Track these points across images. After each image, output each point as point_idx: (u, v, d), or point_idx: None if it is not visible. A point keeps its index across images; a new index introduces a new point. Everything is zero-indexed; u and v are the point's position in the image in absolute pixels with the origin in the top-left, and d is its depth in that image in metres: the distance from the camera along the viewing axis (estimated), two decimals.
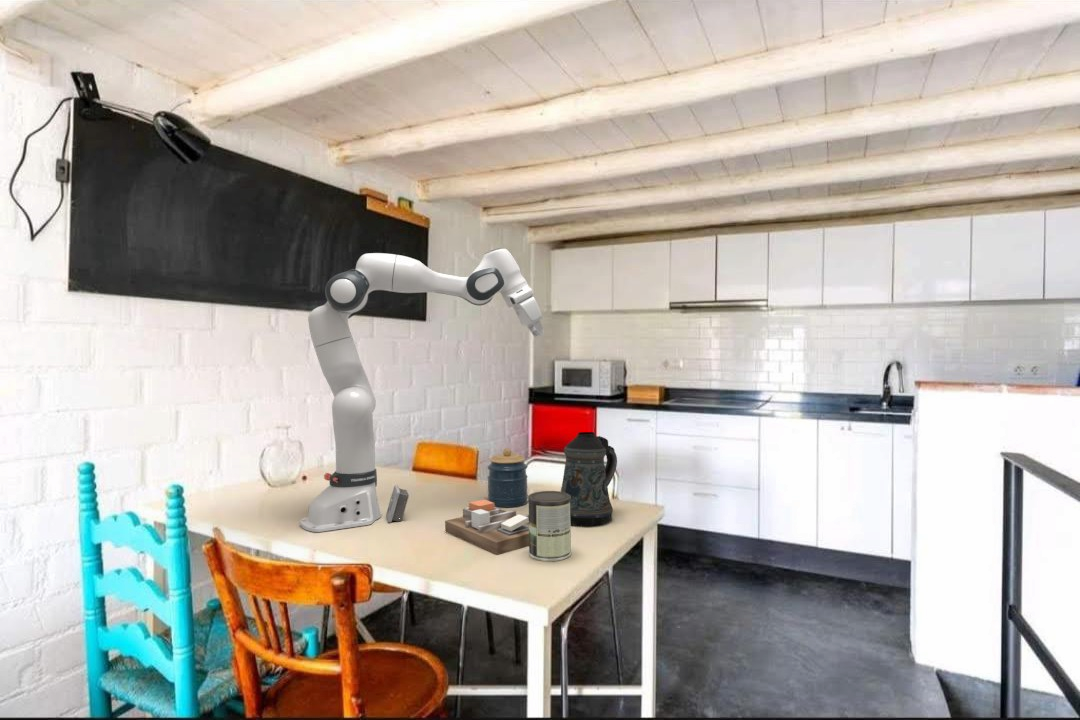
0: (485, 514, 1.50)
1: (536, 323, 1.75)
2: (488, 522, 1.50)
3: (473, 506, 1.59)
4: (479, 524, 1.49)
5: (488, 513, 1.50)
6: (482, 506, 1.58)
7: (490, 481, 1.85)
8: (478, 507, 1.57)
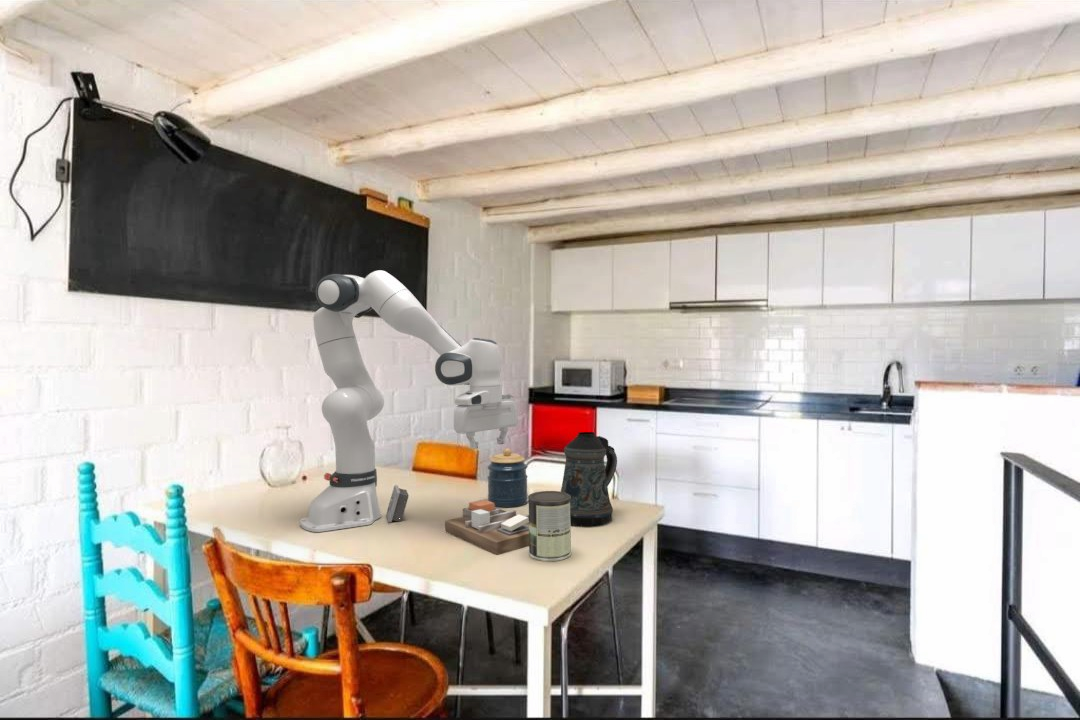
0: (485, 514, 1.50)
1: (467, 434, 1.57)
2: (488, 522, 1.50)
3: (473, 506, 1.59)
4: (479, 524, 1.49)
5: (488, 513, 1.50)
6: (482, 506, 1.58)
7: (490, 481, 1.85)
8: (478, 507, 1.57)
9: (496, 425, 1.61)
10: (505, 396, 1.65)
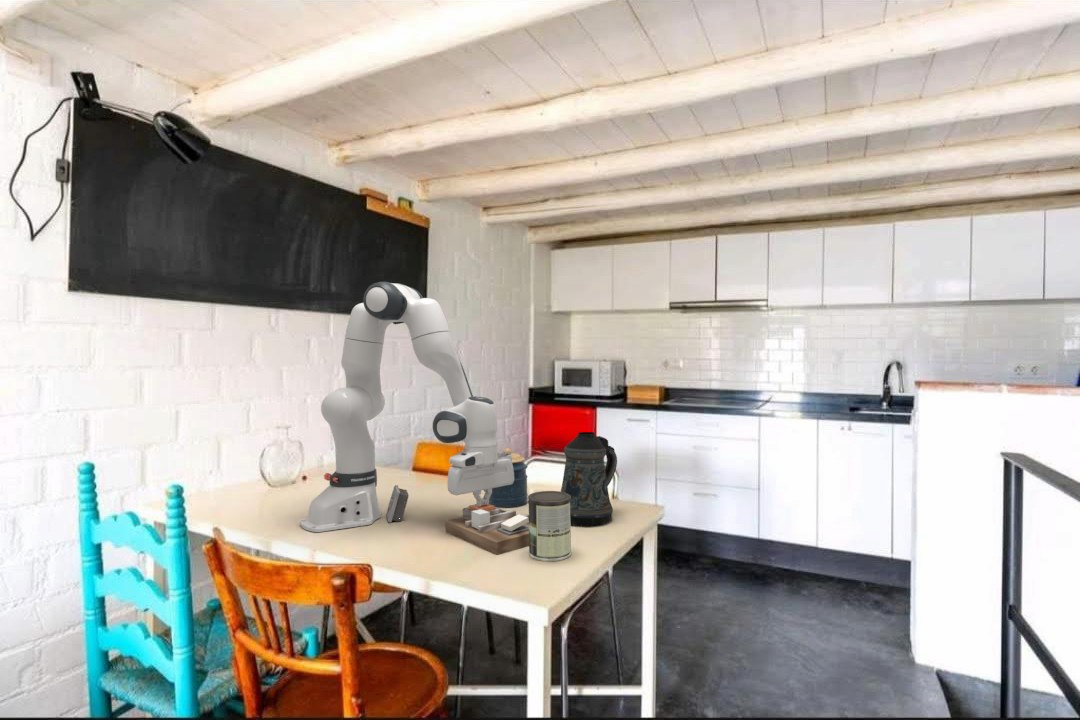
0: (485, 514, 1.50)
1: (474, 492, 1.59)
2: (488, 522, 1.50)
3: (473, 509, 1.59)
4: (479, 524, 1.49)
5: (488, 513, 1.50)
6: (482, 509, 1.58)
7: None
8: None
9: (491, 485, 1.60)
10: (502, 454, 1.64)
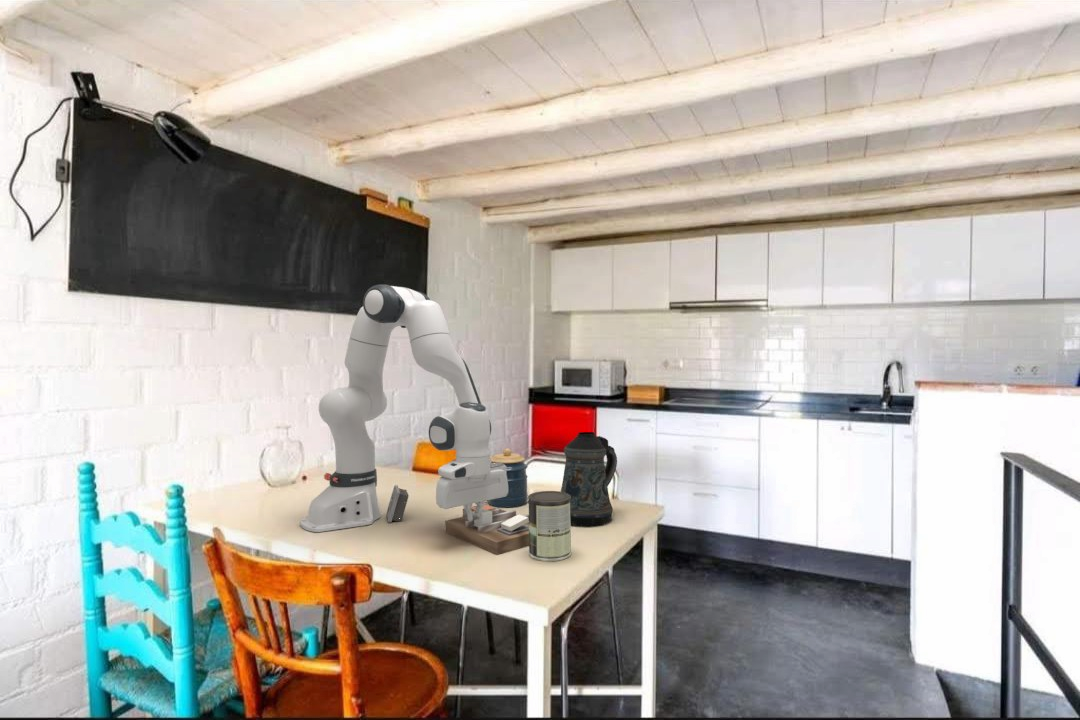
0: (488, 514, 1.50)
1: (465, 505, 1.48)
2: (491, 521, 1.51)
3: None
4: (482, 523, 1.50)
5: (491, 512, 1.51)
6: None
7: None
8: None
9: (483, 497, 1.50)
10: (495, 464, 1.53)
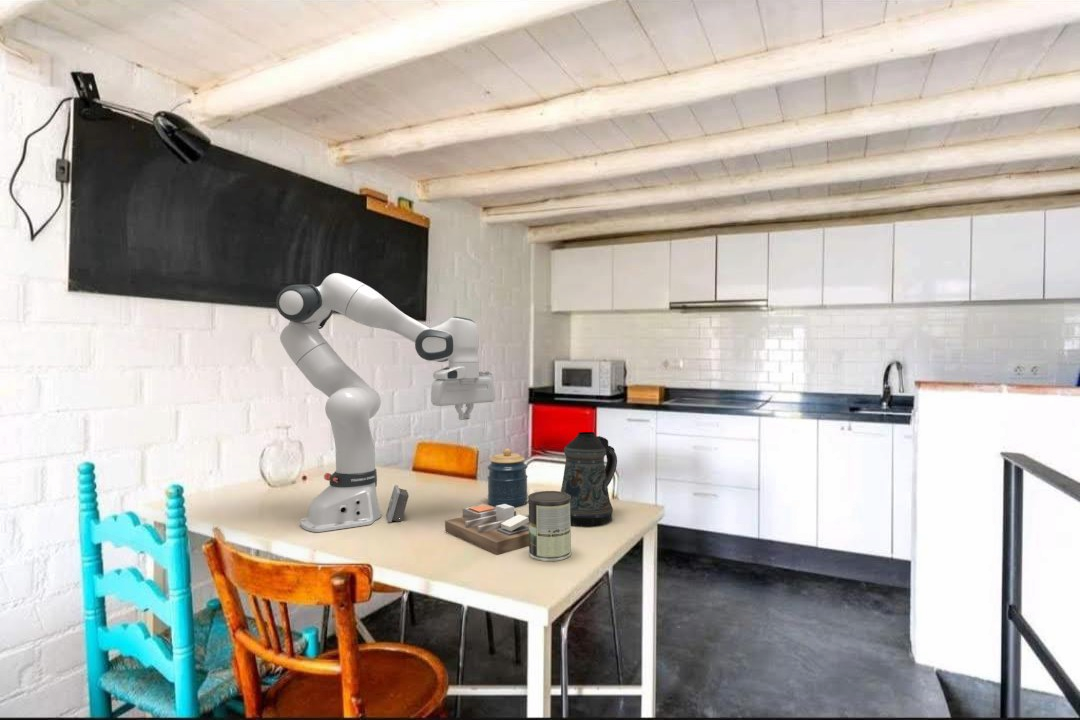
0: (510, 509, 1.55)
1: (456, 406, 1.69)
2: (512, 516, 1.55)
3: None
4: (504, 518, 1.54)
5: (512, 507, 1.55)
6: (482, 511, 1.58)
7: (490, 481, 1.85)
8: (478, 512, 1.57)
9: (472, 400, 1.70)
10: (483, 373, 1.74)
